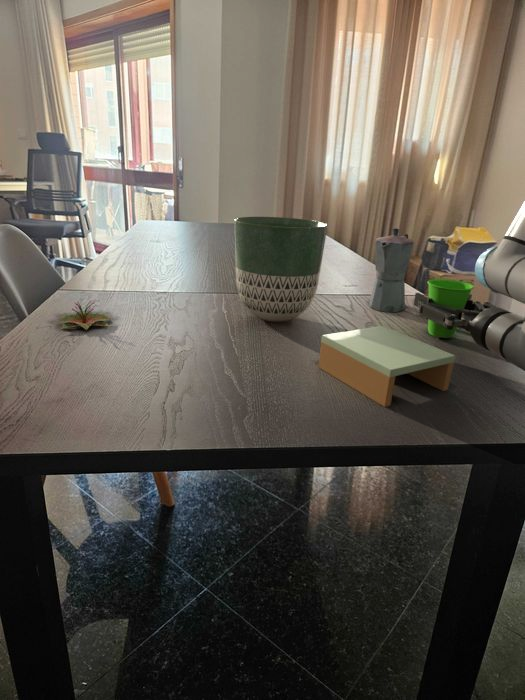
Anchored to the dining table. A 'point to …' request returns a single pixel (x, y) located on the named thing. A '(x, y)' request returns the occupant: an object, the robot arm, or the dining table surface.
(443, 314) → the robot arm
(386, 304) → the moka pot
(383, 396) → the shelf
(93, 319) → the lily flower
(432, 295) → the cup
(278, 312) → the planter
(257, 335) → the dining table surface
